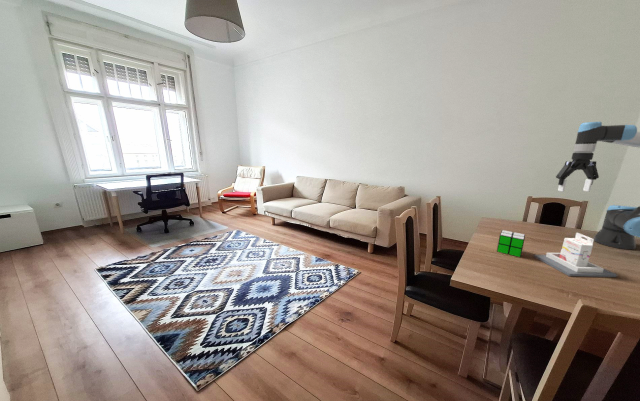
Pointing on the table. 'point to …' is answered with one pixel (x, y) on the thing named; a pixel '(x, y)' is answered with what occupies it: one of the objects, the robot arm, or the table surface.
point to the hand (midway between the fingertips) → (573, 191)
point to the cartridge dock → (574, 267)
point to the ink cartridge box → (577, 250)
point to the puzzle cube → (511, 243)
